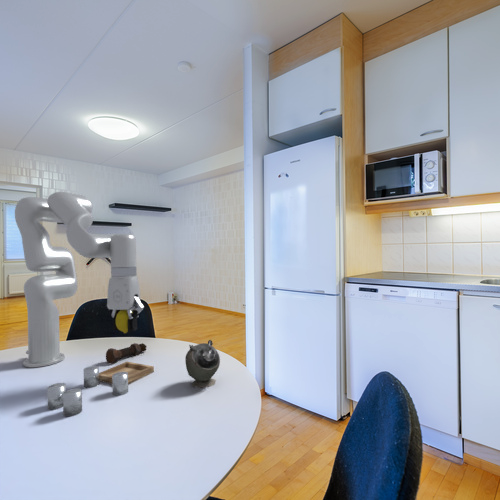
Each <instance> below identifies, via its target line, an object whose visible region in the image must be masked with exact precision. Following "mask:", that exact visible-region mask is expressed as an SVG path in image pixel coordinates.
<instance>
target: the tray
mask: <svg viewBox="0 0 500 500" xmlns="http://www.w3.org/2000/svg"><path fill="white" fill-rule="evenodd" d="M154 370H155V367H154V366H153V365H150V364H149V365H147V364H142V363H137V362H132V361H125V362H122V363H120V364H118V365H115V366H112V367H110V368H108V369H105V370H103V371H101V372H100V371H99V382H102V383H106V384H110V385H111V384H112V375H113V374H115V373H118V372H127V373H128V386H129V385H130V384H132V383H134V382H137V381H138V380H140V379H143V378H144V377H147V376H149V375H150V374H153V373H155V371H154Z"/></svg>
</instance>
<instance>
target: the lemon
mask: <svg viewBox="0 0 500 500" xmlns="http://www.w3.org/2000/svg"><path fill="white" fill-rule="evenodd" d="M128 319H129V316H128V312H127V310H121V311H119V312H118V314H117V316H116V326H117V328H118V329H119V330H118V331H120V332H123V334H127V333H129V332H128Z"/></svg>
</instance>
